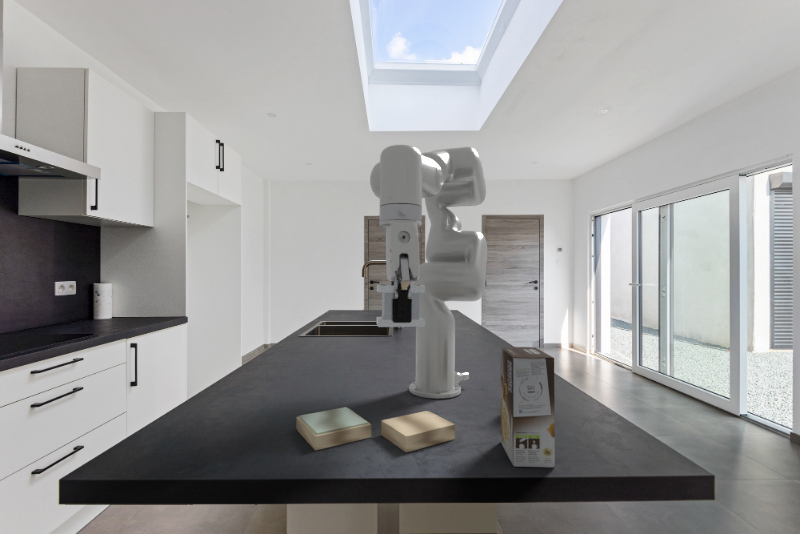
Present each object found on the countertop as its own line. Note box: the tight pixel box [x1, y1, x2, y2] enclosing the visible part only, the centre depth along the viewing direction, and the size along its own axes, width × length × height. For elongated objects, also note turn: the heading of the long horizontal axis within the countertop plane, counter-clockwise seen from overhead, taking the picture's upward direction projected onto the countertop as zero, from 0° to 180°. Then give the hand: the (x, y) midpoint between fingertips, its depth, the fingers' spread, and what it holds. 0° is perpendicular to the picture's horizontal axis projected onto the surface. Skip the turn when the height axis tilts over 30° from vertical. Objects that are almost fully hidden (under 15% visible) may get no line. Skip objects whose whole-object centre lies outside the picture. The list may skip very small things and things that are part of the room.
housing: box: [376, 284, 425, 328], centre depth 67 cm, size 8×5×7 cm, turn 97°
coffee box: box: [499, 346, 556, 469], centre depth 61 cm, size 9×6×16 cm
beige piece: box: [380, 410, 456, 453], centre depth 66 cm, size 10×8×2 cm
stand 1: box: [295, 406, 372, 451], centre depth 68 cm, size 10×10×2 cm
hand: (399, 319), depth 67 cm, fingers closed on housing, 5 cm apart
